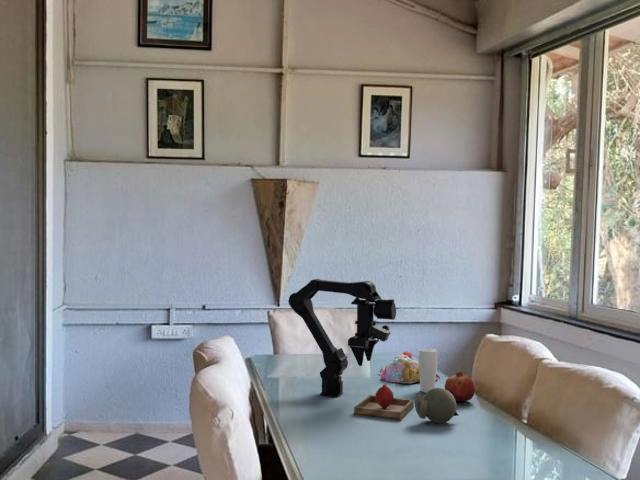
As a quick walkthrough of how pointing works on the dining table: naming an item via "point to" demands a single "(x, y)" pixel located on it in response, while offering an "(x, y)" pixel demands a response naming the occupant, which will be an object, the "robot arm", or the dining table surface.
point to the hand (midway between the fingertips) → (364, 363)
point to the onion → (384, 396)
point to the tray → (392, 412)
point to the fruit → (460, 387)
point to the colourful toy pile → (402, 370)
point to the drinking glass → (427, 368)
